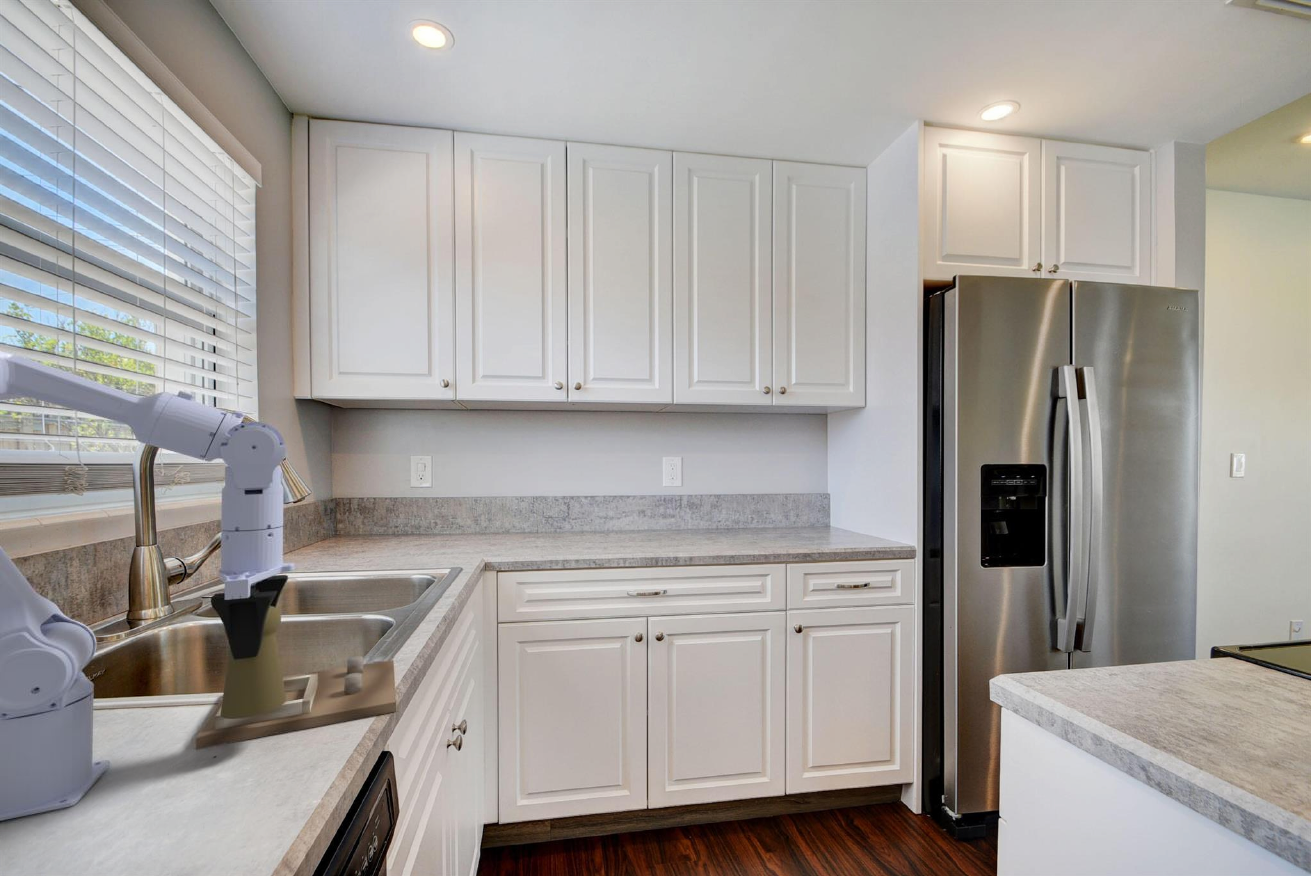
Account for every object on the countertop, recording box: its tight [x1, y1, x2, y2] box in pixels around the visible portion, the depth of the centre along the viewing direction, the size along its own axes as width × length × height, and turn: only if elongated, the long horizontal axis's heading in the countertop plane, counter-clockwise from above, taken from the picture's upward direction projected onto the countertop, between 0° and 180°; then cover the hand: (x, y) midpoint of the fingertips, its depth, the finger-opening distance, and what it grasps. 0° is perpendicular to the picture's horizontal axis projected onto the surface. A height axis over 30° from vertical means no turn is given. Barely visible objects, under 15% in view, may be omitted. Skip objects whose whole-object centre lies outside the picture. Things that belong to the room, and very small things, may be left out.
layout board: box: [195, 655, 397, 750], centre depth 74 cm, size 20×16×3 cm
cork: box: [221, 606, 286, 719], centre depth 64 cm, size 6×6×11 cm
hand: (251, 649), depth 64 cm, fingers closed on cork, 5 cm apart
